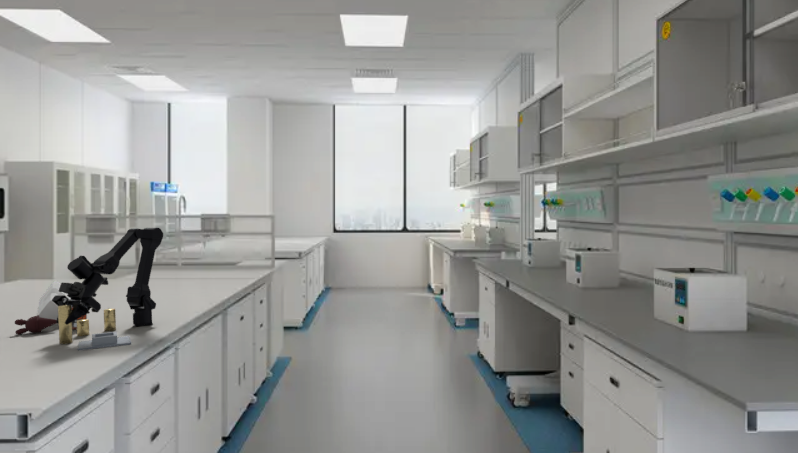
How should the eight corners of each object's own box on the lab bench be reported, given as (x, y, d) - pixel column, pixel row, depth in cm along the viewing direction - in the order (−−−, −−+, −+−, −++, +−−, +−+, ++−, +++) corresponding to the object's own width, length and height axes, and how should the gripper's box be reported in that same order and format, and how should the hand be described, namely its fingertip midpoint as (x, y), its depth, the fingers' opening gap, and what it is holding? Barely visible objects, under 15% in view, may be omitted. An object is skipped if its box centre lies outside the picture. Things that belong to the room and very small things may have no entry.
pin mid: (115, 328, 226) (115, 308, 226) (116, 330, 222) (115, 309, 222) (104, 329, 224) (103, 309, 224) (104, 331, 220) (103, 310, 220)
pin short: (89, 333, 218) (88, 318, 218) (89, 335, 215) (88, 320, 214) (77, 334, 216) (76, 319, 216) (76, 336, 213) (76, 321, 213)
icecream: (61, 312, 228) (17, 319, 223) (57, 310, 221) (11, 317, 216) (62, 330, 227) (18, 337, 222) (58, 329, 220) (12, 336, 215)
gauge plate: (129, 337, 209) (129, 329, 209) (131, 344, 198) (130, 335, 198) (78, 343, 202) (78, 334, 202) (77, 350, 191) (77, 341, 191)
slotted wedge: (39, 333, 238) (31, 301, 227) (42, 313, 246) (35, 282, 235) (77, 329, 243) (71, 299, 232) (79, 310, 251) (74, 280, 240)
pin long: (72, 341, 205) (71, 304, 205) (72, 343, 202) (70, 306, 201) (59, 342, 203) (58, 305, 203) (59, 344, 200) (57, 307, 199)
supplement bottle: (79, 330, 224) (78, 301, 224) (66, 329, 226) (64, 300, 225) (90, 327, 230) (89, 298, 230) (77, 326, 231) (76, 298, 231)
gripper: (55, 272, 209) (26, 308, 199) (92, 274, 202) (63, 311, 192) (76, 291, 217) (49, 326, 207) (112, 293, 209) (86, 330, 199)
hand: (61, 323), depth 201 cm, fingers closed on pin long, 4 cm apart
